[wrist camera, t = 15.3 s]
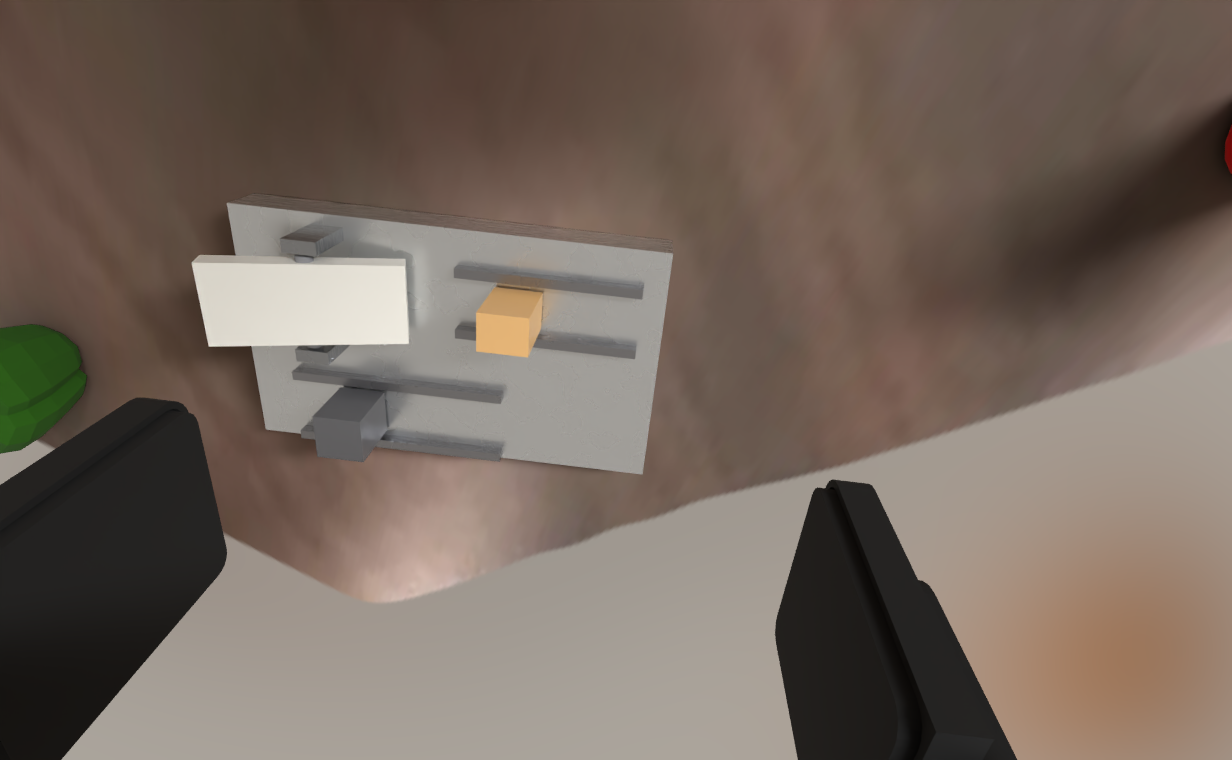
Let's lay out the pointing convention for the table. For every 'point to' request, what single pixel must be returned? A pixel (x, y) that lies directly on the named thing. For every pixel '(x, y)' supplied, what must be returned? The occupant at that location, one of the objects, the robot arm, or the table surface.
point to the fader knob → (350, 424)
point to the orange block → (509, 322)
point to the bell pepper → (35, 383)
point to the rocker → (302, 300)
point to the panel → (446, 333)
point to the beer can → (1229, 150)
